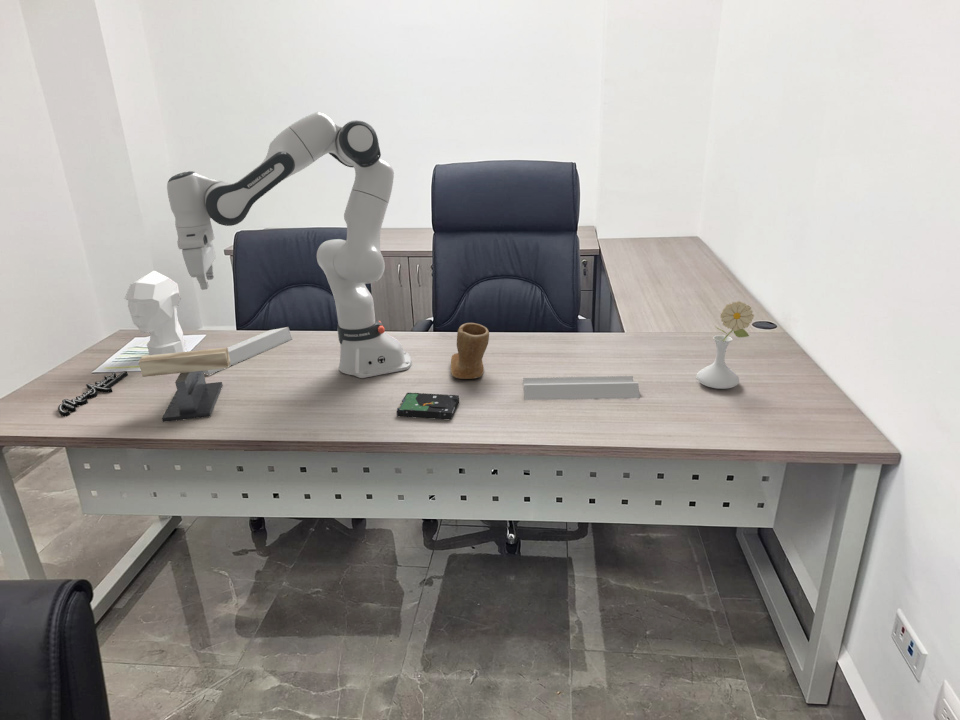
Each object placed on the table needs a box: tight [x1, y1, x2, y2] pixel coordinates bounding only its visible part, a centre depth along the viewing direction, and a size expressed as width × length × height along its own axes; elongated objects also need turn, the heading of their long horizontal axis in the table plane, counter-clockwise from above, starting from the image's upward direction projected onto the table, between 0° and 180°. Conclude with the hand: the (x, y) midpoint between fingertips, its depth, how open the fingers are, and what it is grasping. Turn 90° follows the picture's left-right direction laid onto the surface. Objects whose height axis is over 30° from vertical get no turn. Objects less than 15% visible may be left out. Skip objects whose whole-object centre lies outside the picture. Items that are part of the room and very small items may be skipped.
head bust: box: [124, 270, 187, 355], centre depth 205 cm, size 16×19×28 cm
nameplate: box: [57, 370, 129, 418], centre depth 184 cm, size 27×2×10 cm
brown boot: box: [450, 322, 490, 380], centre depth 188 cm, size 15×12×15 cm
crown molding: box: [522, 375, 641, 401], centre depth 176 cm, size 31×12×4 cm, turn 89°
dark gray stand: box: [161, 371, 224, 423], centre depth 175 cm, size 12×20×10 cm, turn 12°
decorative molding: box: [203, 326, 293, 376], centre depth 210 cm, size 34×5×10 cm
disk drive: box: [396, 392, 460, 421], centre depth 169 cm, size 10×3×15 cm
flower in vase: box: [695, 300, 755, 390], centre depth 172 cm, size 13×11×25 cm
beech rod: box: [138, 347, 231, 378], centre depth 172 cm, size 4×22×4 cm, turn 102°
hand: (207, 283), depth 176 cm, fingers open, 8 cm apart
